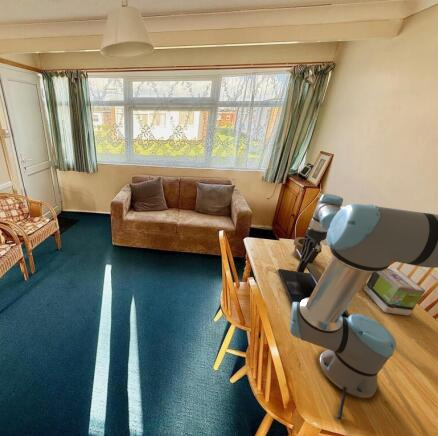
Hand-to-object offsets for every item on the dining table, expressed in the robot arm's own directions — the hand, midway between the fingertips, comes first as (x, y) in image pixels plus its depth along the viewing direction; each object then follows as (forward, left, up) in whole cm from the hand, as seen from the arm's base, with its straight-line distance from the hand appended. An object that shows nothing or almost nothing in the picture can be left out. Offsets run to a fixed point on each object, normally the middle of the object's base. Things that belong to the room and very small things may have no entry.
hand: (300, 271), depth 110 cm
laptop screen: (+7, -7, -4) cm, 10 cm away
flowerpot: (+35, +13, -13) cm, 39 cm away
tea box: (+30, -27, -13) cm, 42 cm away
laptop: (+5, -5, -13) cm, 14 cm away
